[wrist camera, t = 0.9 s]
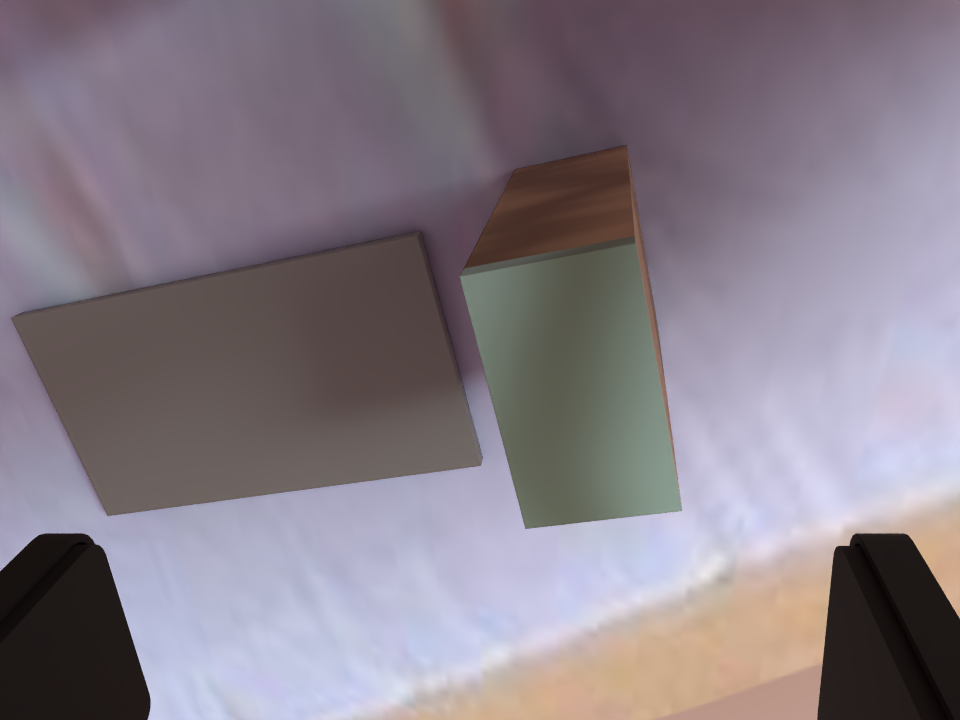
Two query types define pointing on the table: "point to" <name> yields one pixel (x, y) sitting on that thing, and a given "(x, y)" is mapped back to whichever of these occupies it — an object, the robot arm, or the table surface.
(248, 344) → the mat
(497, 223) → the block
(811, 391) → the table surface
